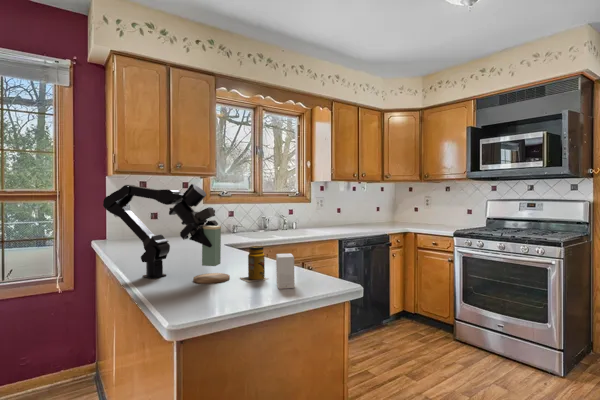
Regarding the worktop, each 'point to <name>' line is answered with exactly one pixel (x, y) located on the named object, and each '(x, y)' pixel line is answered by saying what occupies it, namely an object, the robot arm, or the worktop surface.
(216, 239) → the tea tin
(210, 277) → the disc
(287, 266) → the small box
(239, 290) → the worktop surface
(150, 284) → the worktop surface
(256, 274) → the condiment
